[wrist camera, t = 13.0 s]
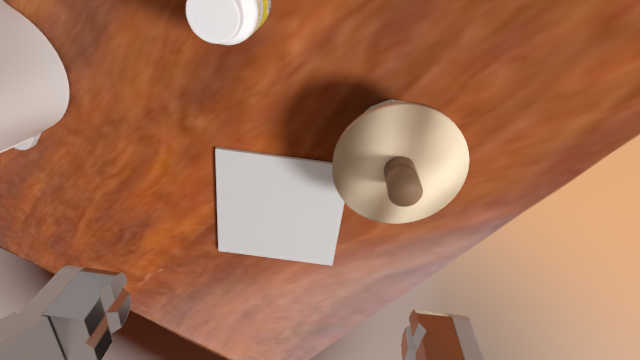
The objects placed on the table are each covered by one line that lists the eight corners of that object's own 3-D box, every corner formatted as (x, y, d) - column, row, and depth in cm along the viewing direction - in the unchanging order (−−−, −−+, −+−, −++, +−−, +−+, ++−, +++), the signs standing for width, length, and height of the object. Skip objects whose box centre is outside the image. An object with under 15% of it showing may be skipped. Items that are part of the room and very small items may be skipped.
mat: (219, 248, 51) (218, 250, 51) (216, 146, 43) (215, 148, 43) (332, 263, 52) (332, 265, 51) (351, 164, 43) (351, 166, 43)
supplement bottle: (205, 5, 35) (161, 20, 27) (234, -47, 33) (197, -48, 24) (251, 42, 37) (224, 67, 28) (283, -4, 34) (264, 8, 26)
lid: (324, 209, 40) (322, 240, 35) (342, 92, 33) (342, 113, 28) (443, 224, 40) (455, 256, 35) (485, 111, 33) (507, 134, 29)
